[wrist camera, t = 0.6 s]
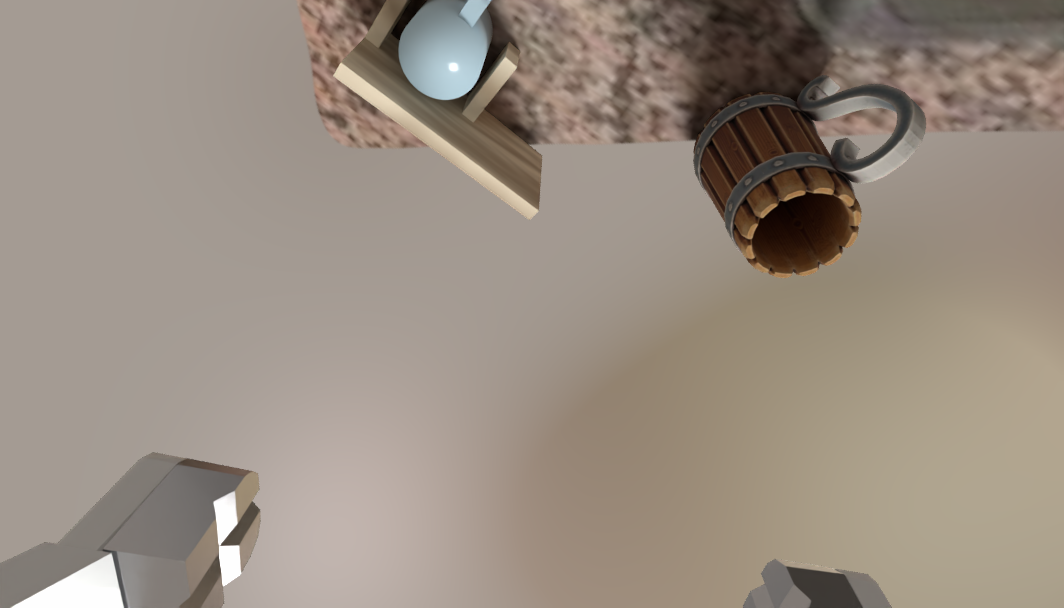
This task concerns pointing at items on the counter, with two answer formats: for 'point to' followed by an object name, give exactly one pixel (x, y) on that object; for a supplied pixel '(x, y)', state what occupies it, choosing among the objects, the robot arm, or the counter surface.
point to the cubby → (448, 114)
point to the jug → (446, 46)
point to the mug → (797, 171)
